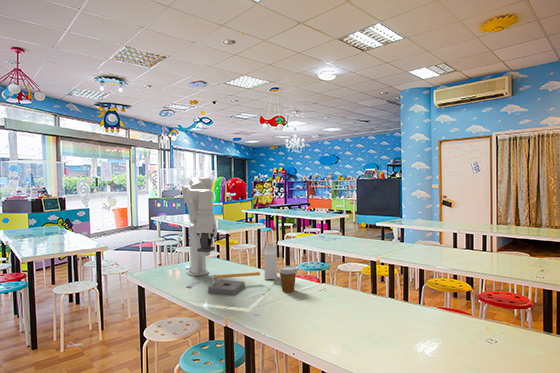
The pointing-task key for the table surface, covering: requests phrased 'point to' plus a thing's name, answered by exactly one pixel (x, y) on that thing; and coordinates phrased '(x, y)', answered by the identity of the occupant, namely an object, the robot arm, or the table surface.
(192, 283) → the mat
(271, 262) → the milk carton
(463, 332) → the table surface
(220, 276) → the orange rod with ball
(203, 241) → the plug
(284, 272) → the disposable coffee cup
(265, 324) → the table surface
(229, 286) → the socket
